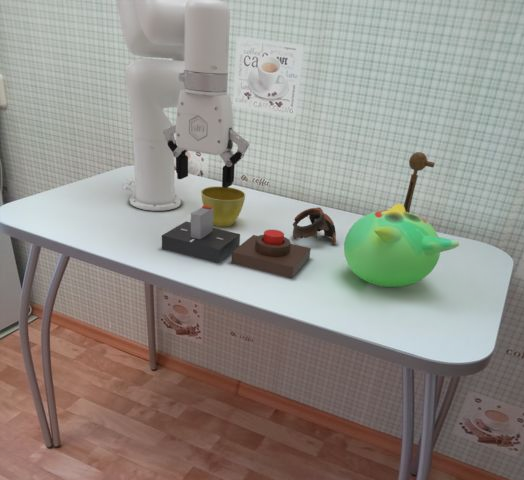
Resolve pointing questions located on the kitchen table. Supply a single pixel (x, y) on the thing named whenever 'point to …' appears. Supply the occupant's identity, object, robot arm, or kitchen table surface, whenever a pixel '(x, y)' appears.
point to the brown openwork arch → (314, 224)
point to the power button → (273, 237)
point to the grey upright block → (201, 222)
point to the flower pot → (223, 204)
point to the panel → (201, 243)
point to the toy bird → (393, 247)
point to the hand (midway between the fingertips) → (204, 182)
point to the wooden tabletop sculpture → (415, 175)
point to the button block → (271, 256)
